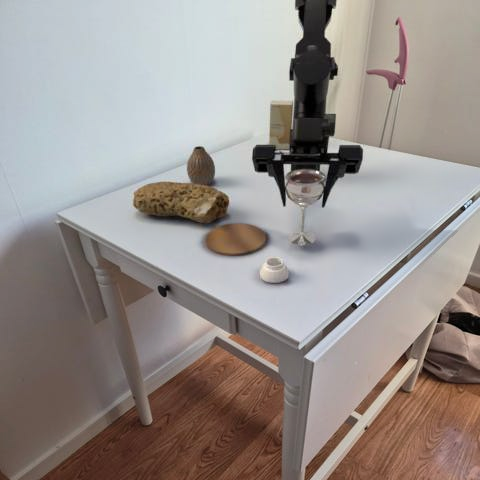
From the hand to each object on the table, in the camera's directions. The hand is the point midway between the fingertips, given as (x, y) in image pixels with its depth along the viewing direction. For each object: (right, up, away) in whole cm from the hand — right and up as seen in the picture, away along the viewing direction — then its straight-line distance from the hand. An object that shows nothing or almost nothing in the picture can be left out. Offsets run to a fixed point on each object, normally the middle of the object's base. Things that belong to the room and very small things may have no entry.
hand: (303, 206), depth 74 cm
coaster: (-12, -4, +10) cm, 16 cm away
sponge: (-24, +3, +19) cm, 31 cm away
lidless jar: (-5, -13, -1) cm, 14 cm away
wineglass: (+1, -5, +6) cm, 7 cm away
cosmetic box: (+1, +31, +52) cm, 60 cm away
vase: (-21, +14, +33) cm, 41 cm away
